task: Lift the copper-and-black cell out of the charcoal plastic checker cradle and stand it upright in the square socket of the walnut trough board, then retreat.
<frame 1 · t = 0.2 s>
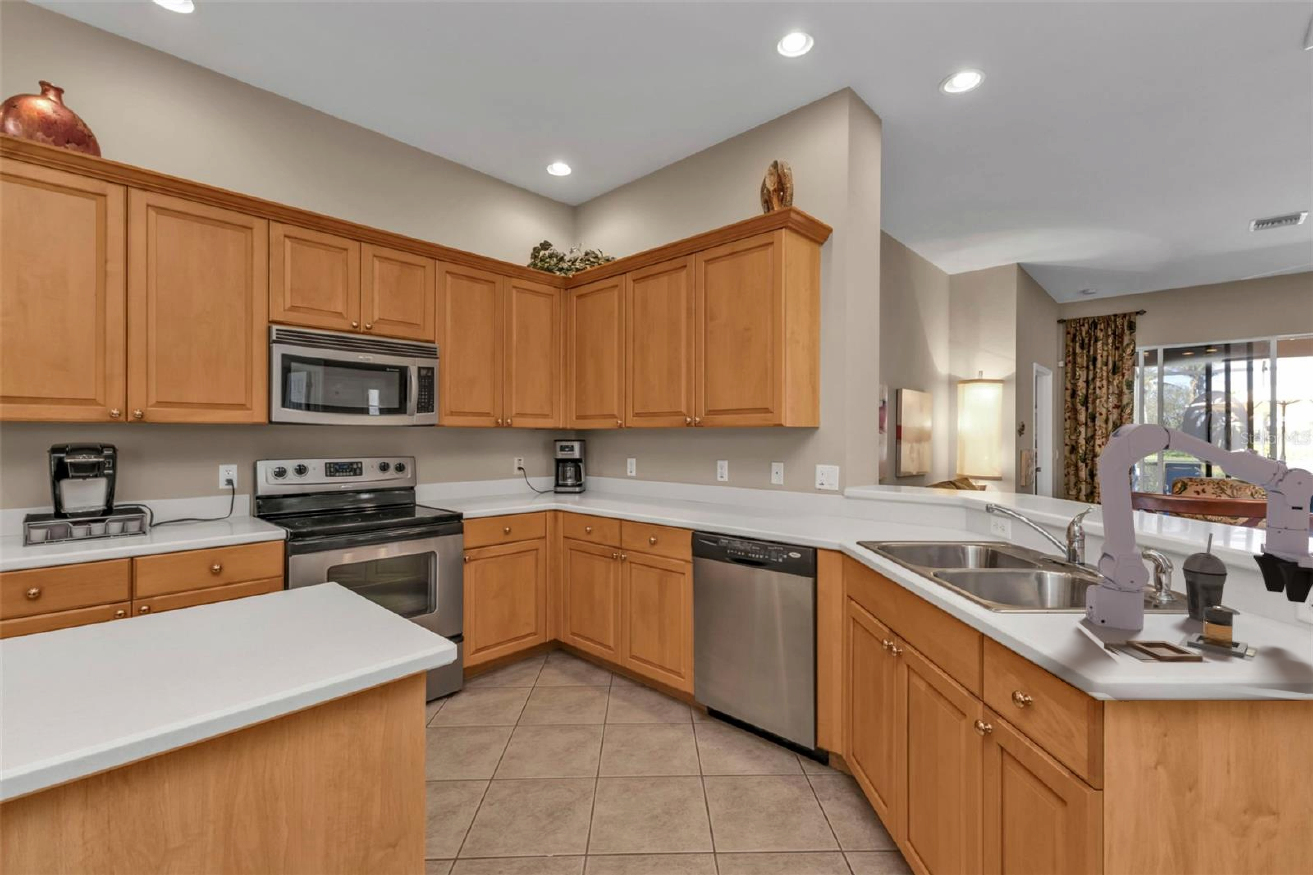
hand: (1285, 596, 113), 10 cm above the counter, tool pointing down, fingers open, 7 cm apart
beverage cup: (1203, 624, 127), on the counter
trough board: (1154, 657, 107), on the counter
cell: (1217, 646, 110), point 1 cm above the counter, touching checker cradle
checker cradle: (1217, 651, 110), on the counter
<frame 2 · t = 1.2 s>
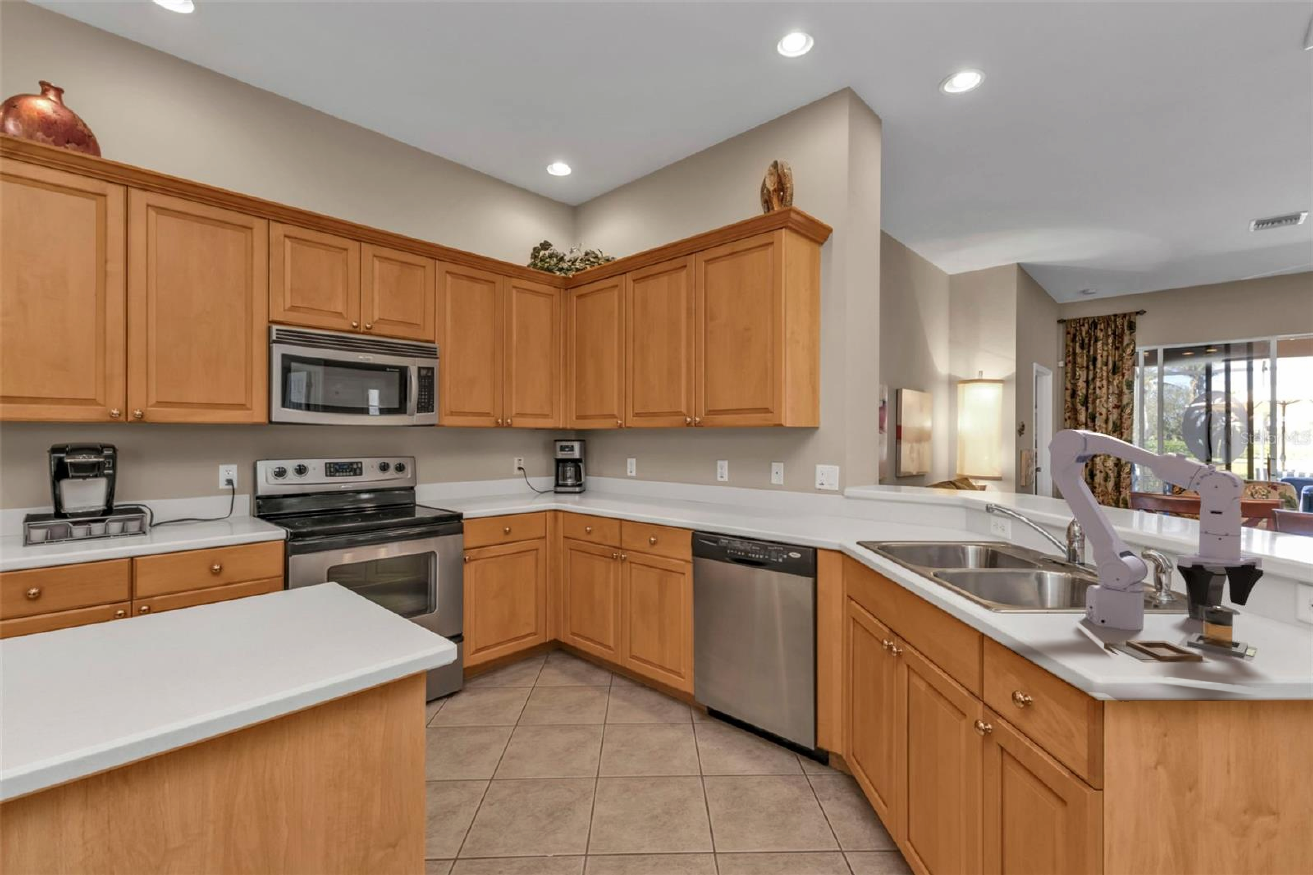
hand: (1218, 604, 110), 9 cm above the counter, tool pointing down, fingers open, 7 cm apart
nothing on the counter moved.
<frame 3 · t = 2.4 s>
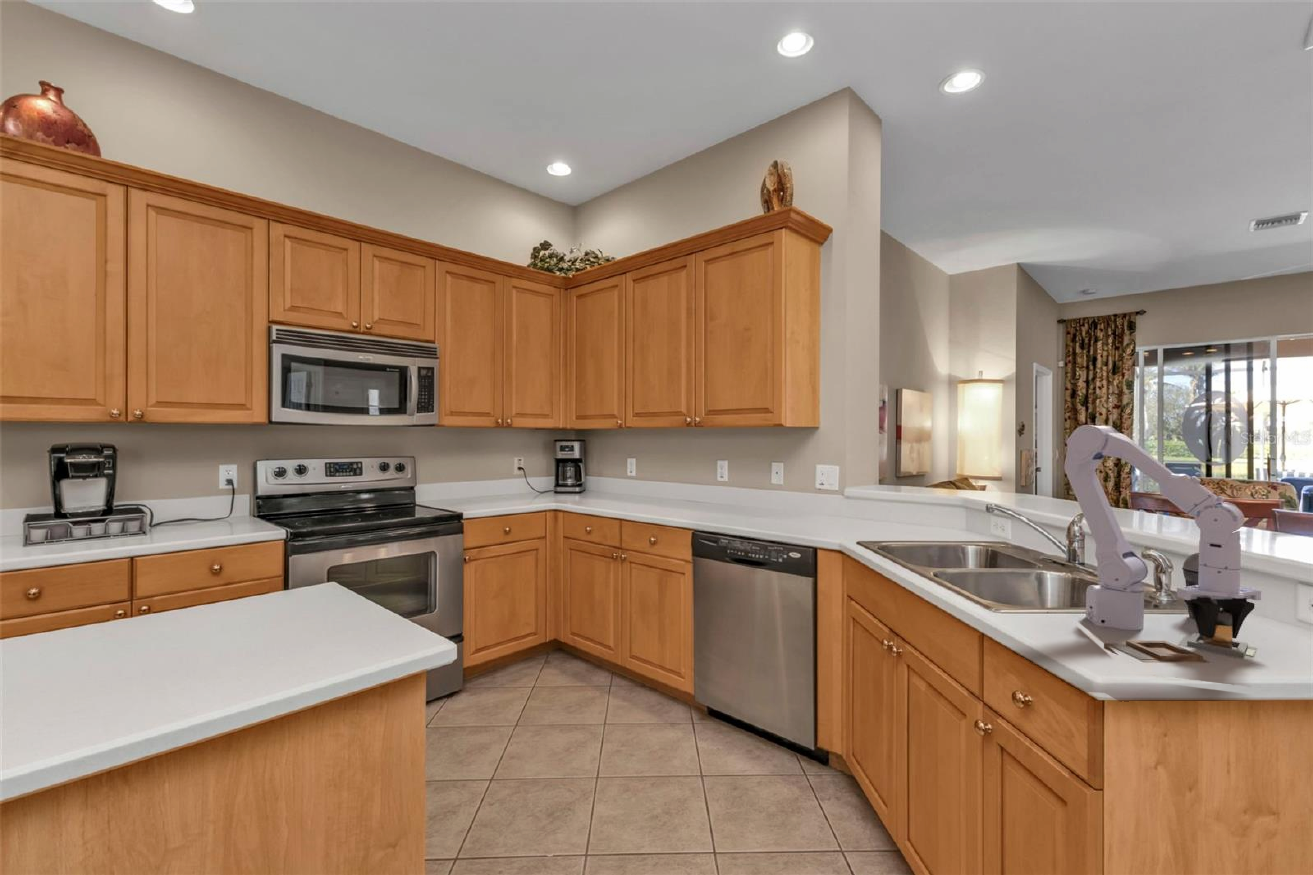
hand: (1217, 636, 110), 3 cm above the counter, tool pointing down, fingers closed on cell, 4 cm apart
cell: (1217, 646, 110), point 1 cm above the counter, touching checker cradle, gripper
everything else where it was.
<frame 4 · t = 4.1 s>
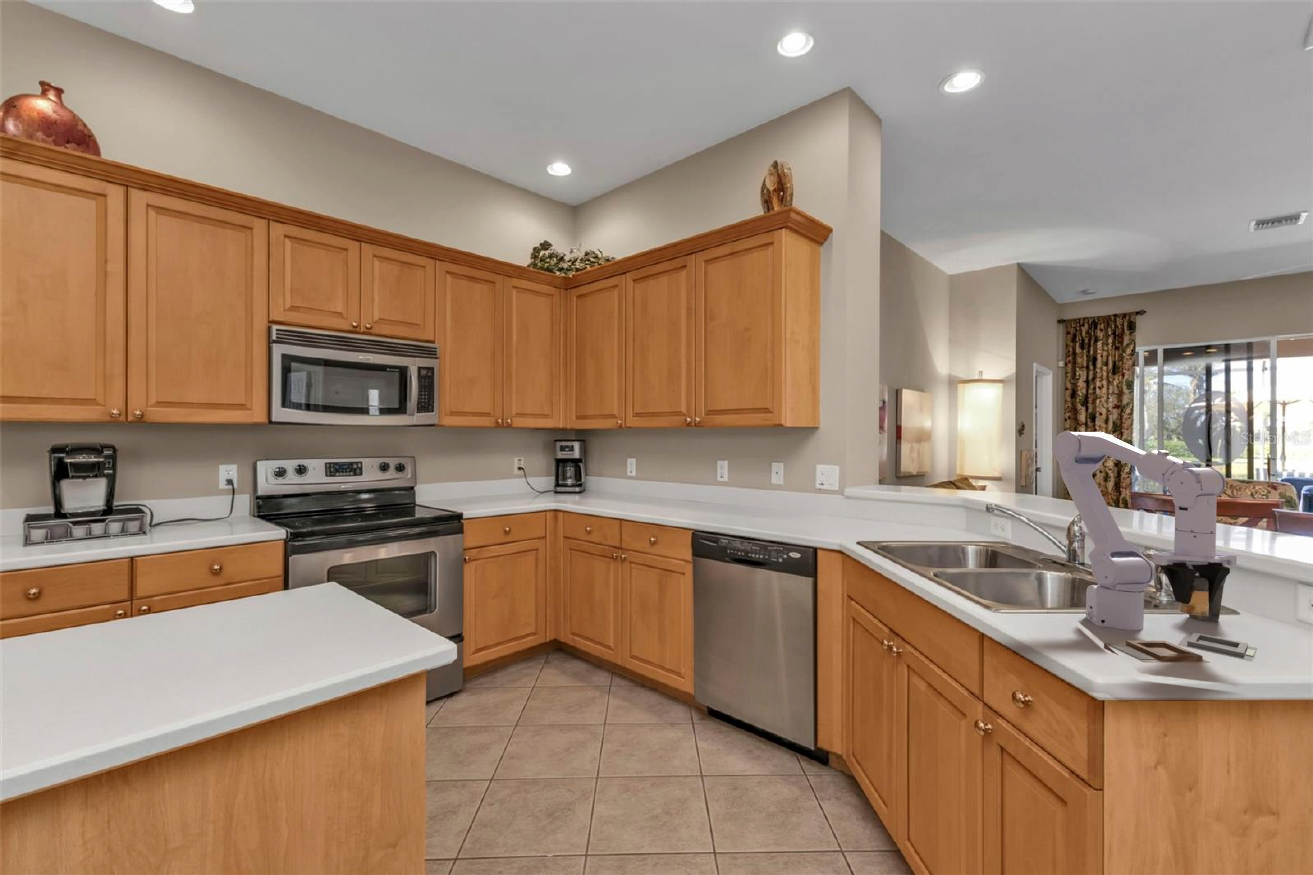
hand: (1193, 602, 108), 10 cm above the counter, tool pointing down, fingers closed on cell, 4 cm apart
cell: (1193, 612, 108), point 8 cm above the counter, touching gripper
everything else where it was.
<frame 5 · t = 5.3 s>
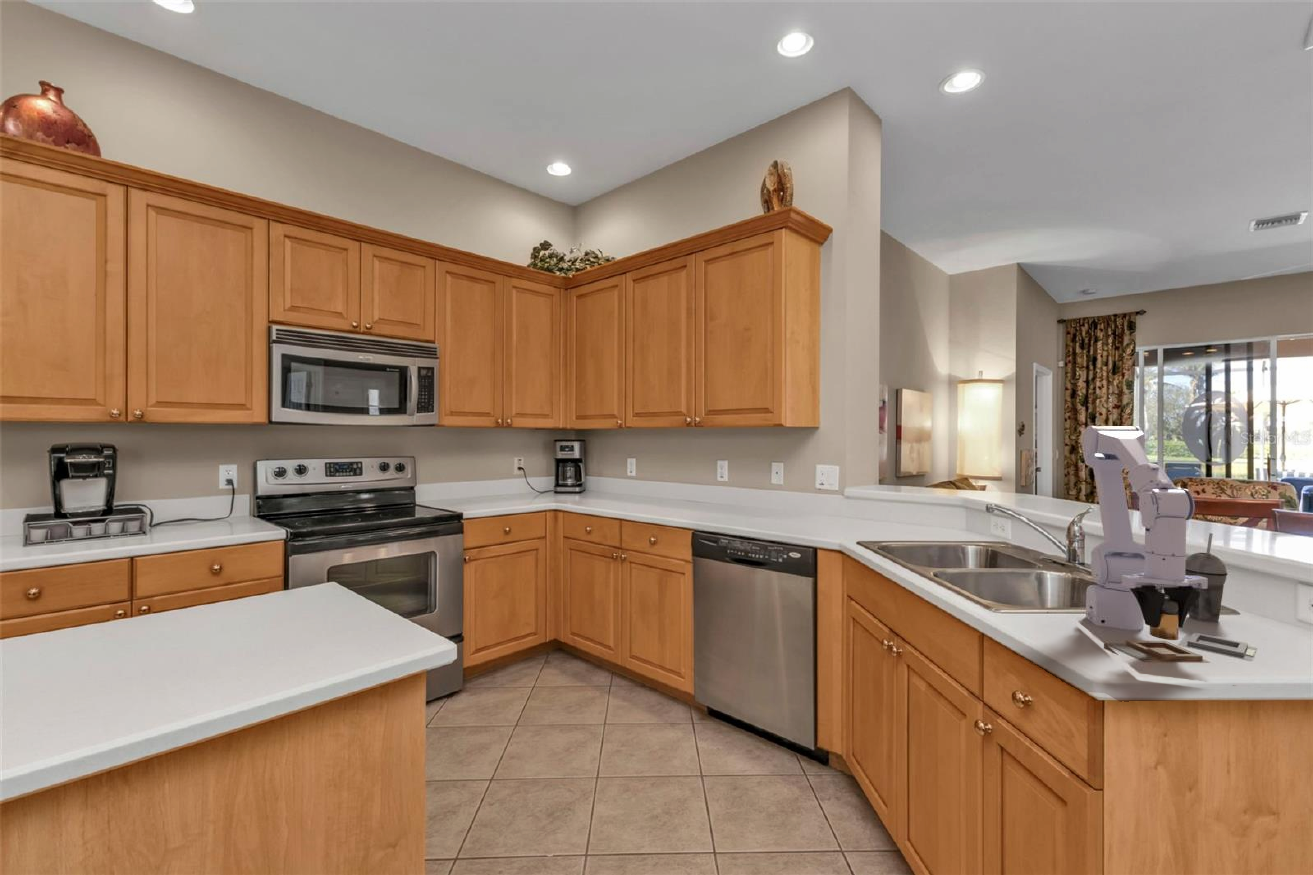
hand: (1163, 625, 107), 6 cm above the counter, tool pointing down, fingers closed on cell, 4 cm apart
cell: (1163, 636, 107), point 4 cm above the counter, touching gripper
everything else where it was.
when the fingers open (4 cm above the counter, at t = 6.1 s): cell stays where it is, resting on trough board.
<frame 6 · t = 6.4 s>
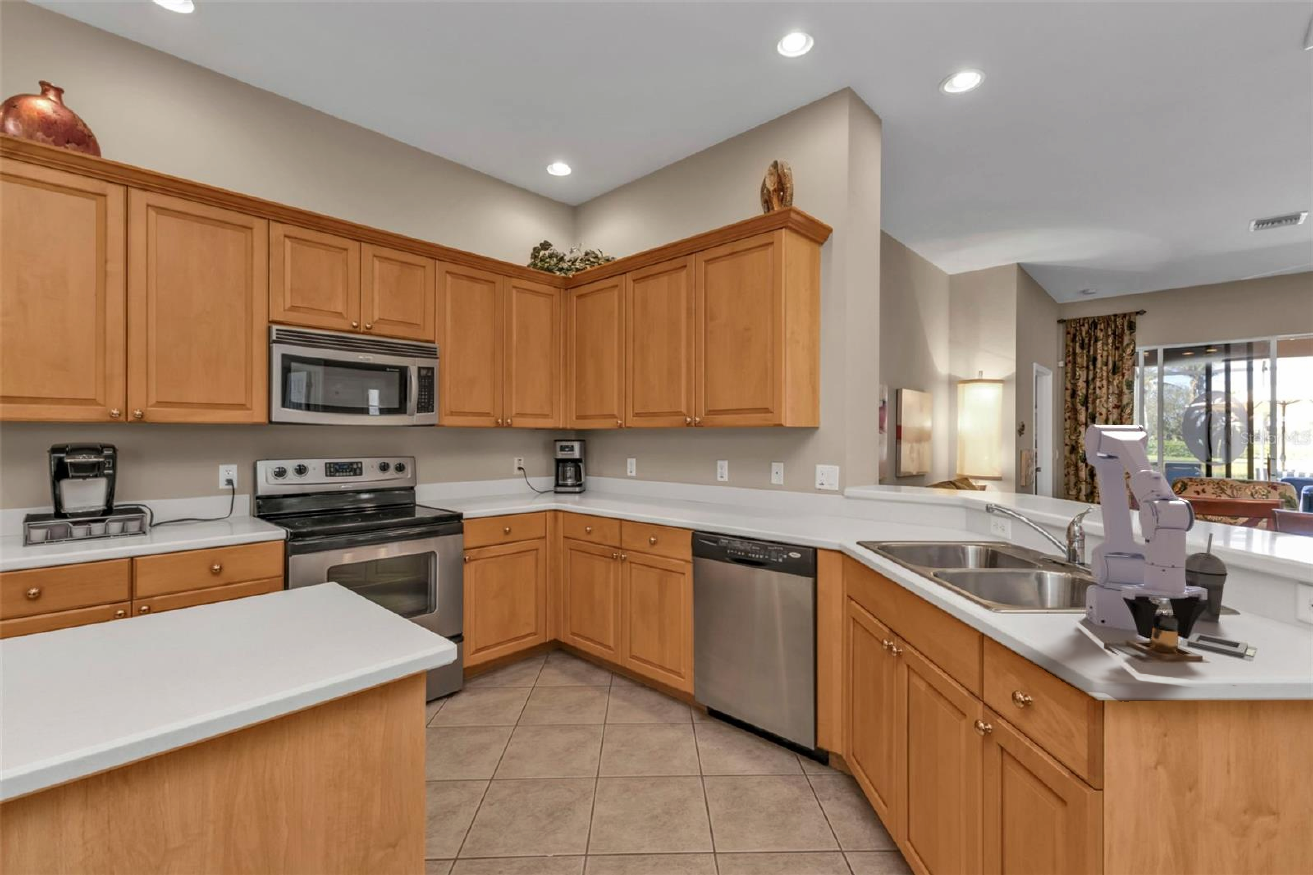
hand: (1163, 636, 107), 4 cm above the counter, tool pointing down, fingers open, 6 cm apart
cell: (1163, 652, 107), point 1 cm above the counter, touching trough board
everything else where it was.
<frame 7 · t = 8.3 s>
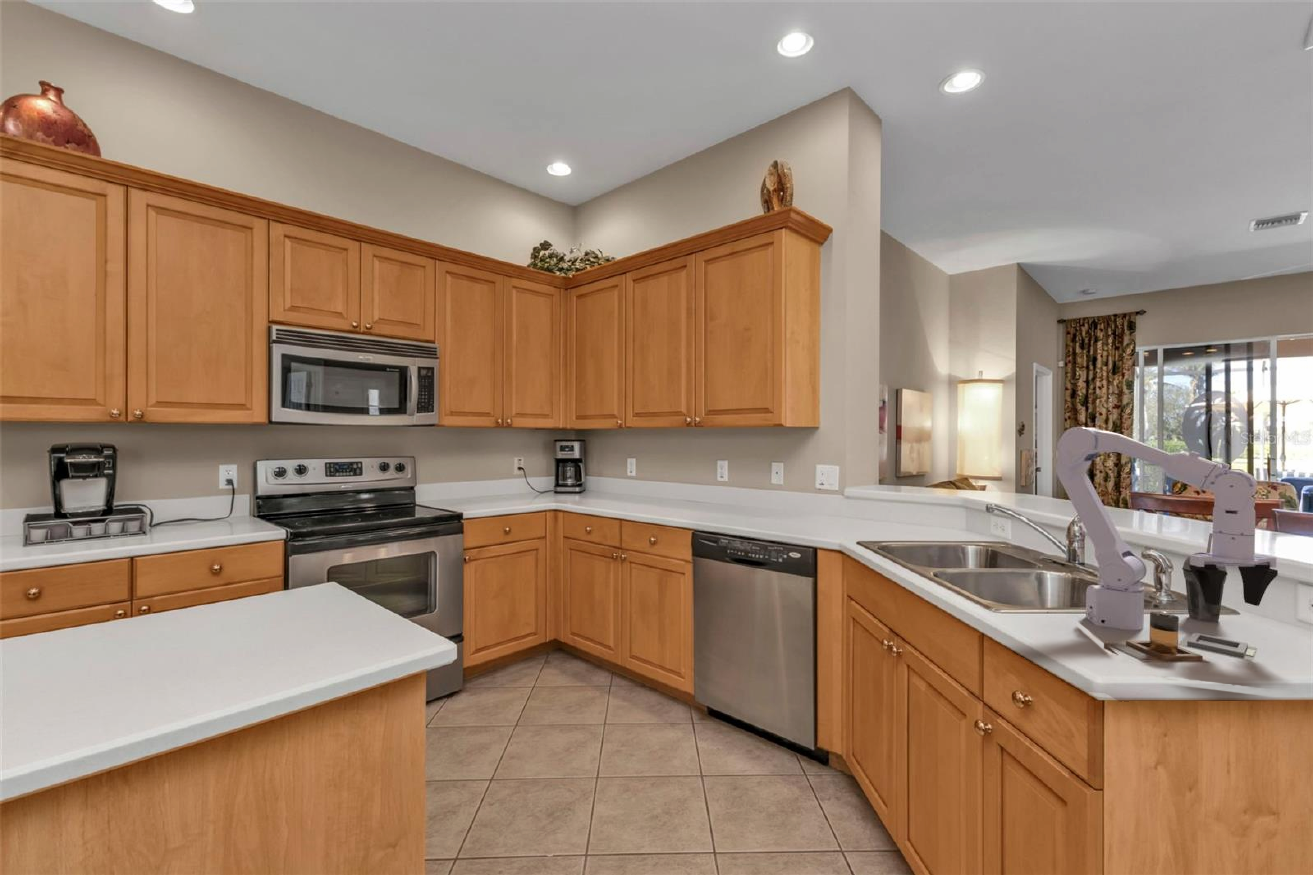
hand: (1231, 604, 109), 9 cm above the counter, tool pointing down, fingers open, 7 cm apart
nothing on the counter moved.
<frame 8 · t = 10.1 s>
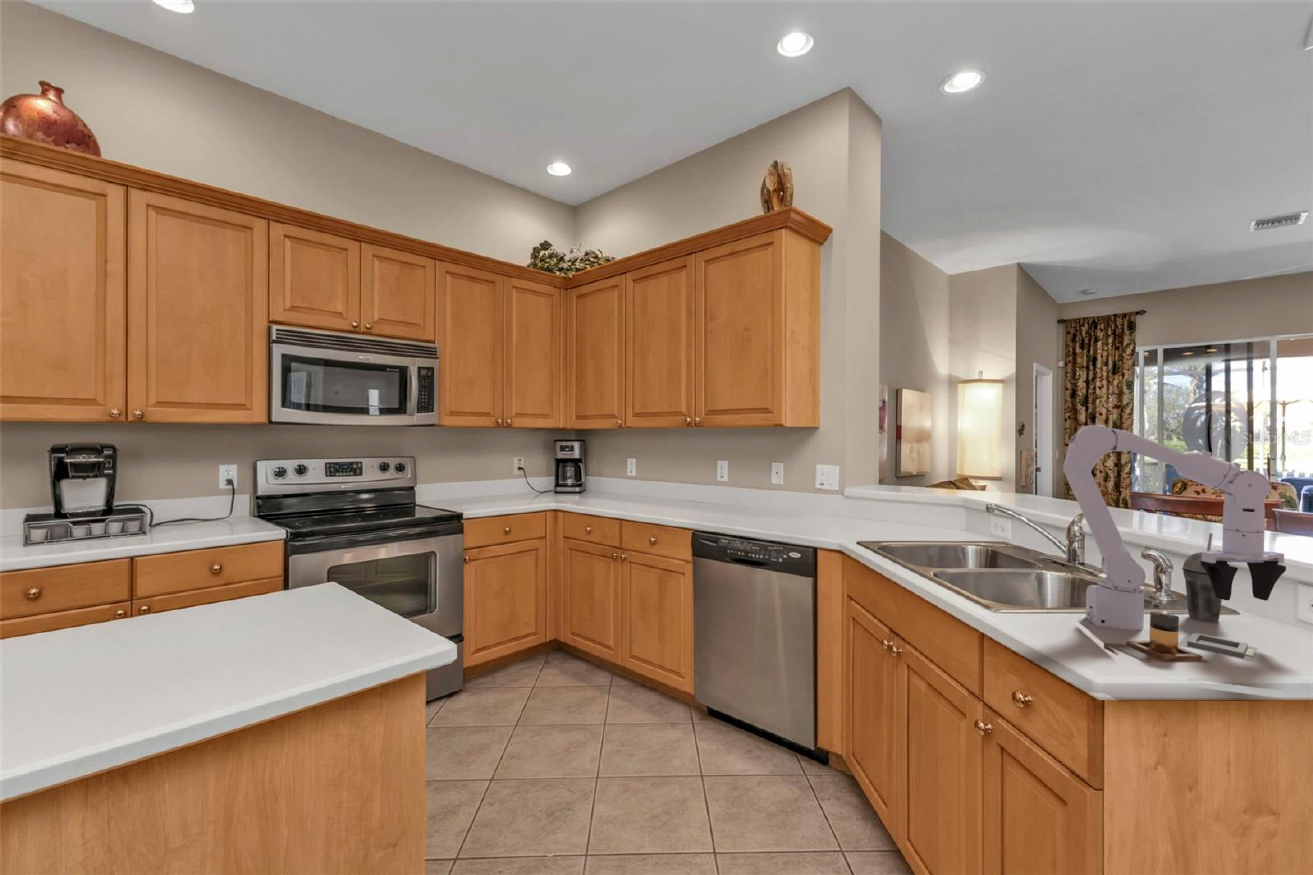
hand: (1241, 599, 113), 9 cm above the counter, tool pointing down, fingers open, 7 cm apart
nothing on the counter moved.
at the end: cell 0.1 cm from the target spot, point 1.0 cm above the counter; cell tilted 1°; the gripper is holding nothing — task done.
